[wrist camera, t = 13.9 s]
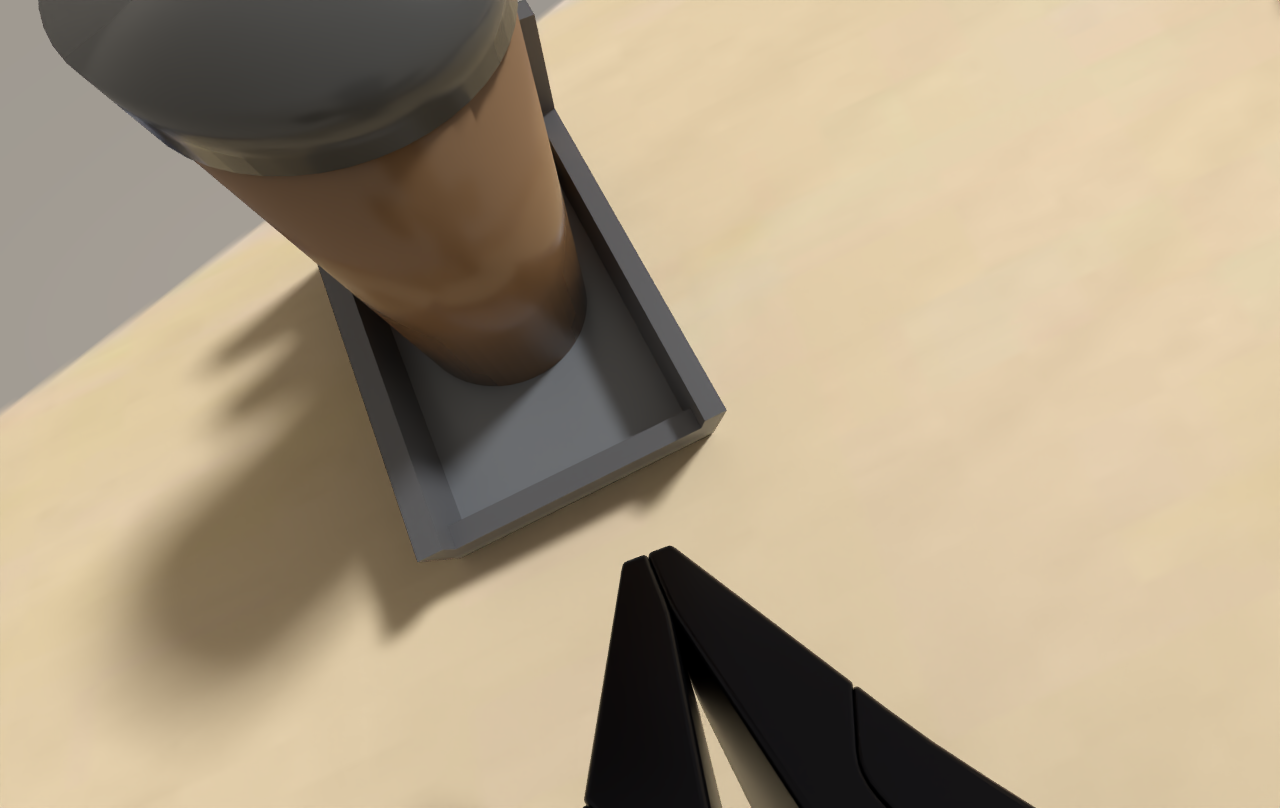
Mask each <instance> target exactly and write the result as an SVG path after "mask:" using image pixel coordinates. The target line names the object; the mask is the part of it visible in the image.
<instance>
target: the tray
mask: <svg viewBox="0 0 1280 808" xmlns="http://www.w3.org/2000/svg"><path fill="white" fill-rule="evenodd" d="M517 13H518V17H519V21H520V25H521V29H522V33H523V38H524V42H525V46H526V50H527V54H528V58H529V62H530V66H531V70H532V74H533V78H534V82H535V86H536V90H537V94H538V98H539V102H540V106H541V110H542V114H543V118H544V123H545V127H546V131H547V135H548V139H549V143H550V147H551V151H552V155H553V159H554V163H555V167H556V171H557V175H558V179H559V183H560V187H561V191H562V195H563V199H564V203H565V208H566V212H567V216H568V220H569V224H570V228H571V232H572V236H573V240H574V244H575V248H576V252H577V256H578V260H579V264H580V268H581V272H582V276H583V280H584V284H585V289H586V295H587V312H586V317H585V322H584V325H583V327H582V330H581V333H580V335H579V336H578V338H577V340H576V342H575V343H574V345H573V346H572V348H571V349H570V351H569V352H568V353H567V354H566V355H565V356H564V357H563V358H562V359H561V360H560V361H559V362H558V363H557V364H555V365H554V366H553V367H552V368H550V369H549V370H547V371H546V372H544V373H542V374H540V375H538V376H536V377H534V378H532V379H530V380H527V381H524V382H521V383H517V384H512V385H506V386H483V385H476V384H472V383H469V382H465V381H463V380H460V379H458V378H456V377H454V376H452V375H451V374H449V373H447V372H446V371H444V370H443V369H442V368H441V367H440V366H438V365H437V364H436V363H435V362H434V361H432V360H431V359H430V358H429V357H428V356H427V355H425V354H424V353H423V352H422V351H421V350H419V349H418V348H417V347H416V346H415V345H413V344H412V343H411V342H410V341H409V340H407V339H406V338H405V337H404V336H403V335H401V334H400V333H399V332H398V331H397V330H395V329H394V328H393V327H392V326H391V325H390V324H388V323H387V322H386V321H385V320H384V319H382V318H381V317H380V316H379V315H378V314H376V313H375V312H374V311H373V310H372V309H370V308H369V307H368V306H367V305H366V304H364V303H363V302H362V301H361V300H360V299H358V298H357V297H356V296H355V295H354V294H353V293H351V292H350V291H349V290H348V289H347V288H345V287H344V286H343V285H342V284H341V283H339V282H338V281H337V280H336V279H335V278H333V277H332V276H331V275H330V274H329V273H327V272H326V271H325V270H324V269H323V268H322V267H320V266H319V265H318V267H319V270H320V273H321V276H322V279H323V282H324V285H325V288H326V291H327V294H328V297H329V300H330V303H331V306H332V309H333V312H334V315H335V318H336V321H337V324H338V327H339V330H340V333H341V336H342V339H343V342H344V345H345V348H346V351H347V354H348V357H349V360H350V363H351V366H352V369H353V371H354V374H355V377H356V380H357V383H358V386H359V389H360V392H361V395H362V398H363V401H364V404H365V407H366V410H367V413H368V416H369V419H370V422H371V425H372V428H373V431H374V434H375V437H376V440H377V443H378V446H379V449H380V452H381V455H382V458H383V461H384V464H385V467H386V470H387V473H388V476H389V479H390V482H391V485H392V488H393V491H394V494H395V496H396V499H397V502H398V505H399V508H400V511H401V514H402V517H403V520H404V523H405V526H406V529H407V532H408V535H409V538H410V541H411V544H412V547H413V550H414V553H415V556H416V559H417V562H425V561H436V560H447V559H458V558H462V557H464V556H466V555H468V554H470V553H472V552H474V551H476V550H478V549H480V548H482V547H484V546H486V545H488V544H490V543H492V542H494V541H496V540H498V539H500V538H502V537H504V536H506V535H508V534H510V533H512V532H514V531H516V530H518V529H520V528H522V527H524V526H526V525H528V524H530V523H532V522H534V521H536V520H538V519H540V518H542V517H544V516H546V515H548V514H550V513H552V512H554V511H556V510H559V509H561V508H563V507H565V506H567V505H569V504H571V503H573V502H575V501H577V500H579V499H581V498H583V497H585V496H587V495H589V494H591V493H593V492H595V491H597V490H599V489H601V488H603V487H605V486H607V485H609V484H611V483H613V482H615V481H617V480H619V479H621V478H623V477H625V476H627V475H629V474H631V473H633V472H635V471H637V470H639V469H641V468H643V467H645V466H647V465H649V464H651V463H653V462H655V461H657V460H659V459H661V458H663V457H665V456H667V455H669V454H671V453H673V452H675V451H678V450H680V449H682V448H684V447H686V446H688V445H690V444H692V443H694V442H696V441H698V440H700V439H702V438H704V437H706V436H708V435H710V434H712V433H713V432H714V431H715V429H716V427H717V426H718V424H719V422H720V421H721V419H722V417H723V416H724V414H725V412H726V411H727V410H726V408H725V406H724V405H723V403H722V401H721V399H720V398H719V396H718V394H717V392H716V391H715V389H714V387H713V385H712V384H711V382H710V380H709V378H708V377H707V375H706V373H705V371H704V370H703V368H702V366H701V364H700V363H699V361H698V359H697V357H696V356H695V354H694V352H693V350H692V349H691V347H690V345H689V343H688V341H687V340H686V338H685V336H684V334H683V333H682V331H681V329H680V327H679V326H678V324H677V322H676V320H675V319H674V317H673V315H672V313H671V312H670V310H669V308H668V306H667V305H666V303H665V301H664V299H663V298H662V296H661V294H660V292H659V291H658V289H657V287H656V285H655V284H654V282H653V280H652V278H651V277H650V275H649V273H648V271H647V270H646V268H645V266H644V264H643V263H642V261H641V259H640V257H639V256H638V254H637V252H636V250H635V249H634V247H633V245H632V243H631V242H630V240H629V238H628V236H627V235H626V233H625V231H624V229H623V228H622V226H621V224H620V222H619V221H618V219H617V217H616V215H615V214H614V212H613V210H612V208H611V206H610V205H609V203H608V201H607V199H606V198H605V196H604V194H603V192H602V191H601V189H600V187H599V185H598V184H597V182H596V180H595V178H594V177H593V175H592V173H591V171H590V170H589V168H588V166H587V164H586V163H585V161H584V159H583V157H582V156H581V154H580V152H579V150H578V149H577V147H576V145H575V143H574V142H573V140H572V138H571V136H570V135H569V133H568V131H567V129H566V128H565V126H564V124H563V122H562V121H561V119H560V117H559V115H558V114H557V112H556V110H555V108H554V104H553V99H552V94H551V90H550V85H549V80H548V76H547V71H546V67H545V62H544V57H543V53H542V48H541V43H540V39H539V34H538V29H537V25H536V20H535V16H534V13H533V12H532V10H531V8H530V7H529V5H528V3H527V2H526V0H522V1H519V2H518V9H517Z"/></svg>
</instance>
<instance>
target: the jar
mask: <svg viewBox="0 0 1280 808" xmlns="http://www.w3.org/2000/svg"><path fill="white" fill-rule="evenodd" d="M517 9H518V1H517V0H39V11H40V14H41V19H42V23H43V27H44V29H45V31H46V33H47V35H48V37H49V39H50V41H51V43H52V45H53V47H54V48H55V49H56V51H57V52H58V53H59V54H60V56H61V57H62V58H63V59H64V60H65V62H66V63H67V64H68V65H70V66H71V67H72V68H73V69H74V70H76V71H77V72H78V73H79V74H80V75H82V76H83V77H84V78H85V79H86V80H88V81H89V82H90V83H91V84H93V85H94V86H95V87H96V88H98V89H99V90H100V91H101V92H102V93H103V94H105V95H106V96H107V97H108V98H109V99H111V100H112V101H113V102H114V103H116V104H117V105H118V106H119V107H121V108H122V109H123V110H124V111H125V112H126V113H128V114H129V115H130V116H131V117H133V118H134V119H135V120H136V121H138V122H139V123H140V124H141V125H142V126H144V127H145V128H146V129H147V130H148V131H150V132H151V133H152V134H153V135H154V136H156V137H157V138H158V139H159V140H161V141H162V142H163V143H164V144H166V145H167V146H168V147H170V148H171V149H173V150H175V151H176V152H178V153H180V154H182V155H184V156H185V157H187V158H189V159H191V160H194V161H195V162H196V163H197V164H199V165H200V166H201V167H202V168H203V169H205V170H206V171H207V172H208V173H209V174H211V175H212V176H213V177H214V178H215V179H216V180H218V181H219V182H220V183H221V184H222V185H224V186H225V187H226V188H227V189H229V190H230V191H231V192H232V193H233V194H234V195H236V196H237V197H238V198H239V199H240V200H242V201H243V202H244V203H245V204H246V205H248V206H249V207H250V208H251V209H252V210H253V211H255V212H256V213H257V214H258V215H260V216H261V217H262V218H263V219H264V220H265V221H267V222H268V223H269V224H270V225H271V226H273V227H274V228H275V229H276V230H277V231H279V232H280V233H281V234H282V235H283V236H285V237H286V238H287V239H288V240H289V241H290V242H292V243H293V244H294V245H295V246H296V247H298V248H299V249H300V250H301V251H302V252H304V253H305V254H306V255H307V256H308V257H310V258H311V259H312V260H313V261H314V262H316V263H317V264H318V265H319V266H320V267H322V268H323V269H324V270H325V271H326V272H327V273H329V274H330V275H331V276H332V277H333V278H335V279H336V280H337V281H338V282H339V283H341V284H342V285H343V286H344V287H345V288H347V289H348V290H349V291H350V292H351V293H353V294H354V295H355V296H356V297H357V298H358V299H360V300H361V301H362V302H363V303H364V304H366V305H367V306H368V307H369V308H370V309H372V310H373V311H374V312H375V313H376V314H378V315H379V316H380V317H381V318H382V319H384V320H385V321H386V322H387V323H388V324H390V325H391V326H392V327H393V328H394V329H395V330H397V331H398V332H399V333H400V334H401V335H403V336H404V337H405V338H406V339H407V340H409V341H410V342H411V343H412V344H413V345H415V346H416V347H417V348H418V349H419V350H421V351H422V352H423V353H424V354H425V355H427V356H428V357H429V358H430V359H431V360H432V361H434V362H435V363H436V364H437V365H438V366H440V367H441V368H442V369H443V370H444V371H446V372H447V373H449V374H451V375H452V376H454V377H456V378H458V379H460V380H463V381H465V382H469V383H472V384H476V385H483V386H506V385H512V384H517V383H521V382H524V381H527V380H530V379H532V378H534V377H536V376H538V375H540V374H542V373H544V372H546V371H547V370H549V369H550V368H552V367H553V366H554V365H555V364H557V363H558V362H559V361H560V360H561V359H562V358H563V357H564V356H565V355H566V354H567V353H568V352H569V351H570V349H571V348H572V346H573V345H574V343H575V342H576V340H577V338H578V336H579V335H580V333H581V330H582V327H583V325H584V322H585V317H586V312H587V295H586V289H585V284H584V280H583V276H582V272H581V268H580V264H579V260H578V256H577V252H576V248H575V244H574V240H573V236H572V232H571V228H570V224H569V220H568V216H567V212H566V208H565V203H564V199H563V195H562V191H561V187H560V183H559V179H558V175H557V171H556V167H555V163H554V159H553V155H552V151H551V147H550V143H549V139H548V135H547V131H546V127H545V123H544V118H543V114H542V110H541V106H540V102H539V98H538V94H537V90H536V86H535V82H534V78H533V74H532V70H531V66H530V62H529V58H528V54H527V50H526V46H525V42H524V38H523V33H522V29H521V25H520V21H519V17H518V13H517Z"/></svg>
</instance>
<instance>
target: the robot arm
mask: <svg viewBox="0 0 1280 808" xmlns="http://www.w3.org/2000/svg"><path fill="white" fill-rule="evenodd" d="M690 680H691V681H690ZM691 683H692V684H691ZM692 685H693V687H692ZM693 688H694V691H695V693H696V695H697V698H698V700H699V702H700V704H701V706H702V708H703V711H704V713H705V715H706V717H707V719H708V721H709V723H710V725H711V727H712V729H713V731H714V733H715V735H716V737H717V739H718V741H719V743H720V745H721V747H722V749H723V751H724V753H725V755H726V757H727V759H728V761H729V763H730V765H731V767H732V769H733V771H734V773H735V775H736V777H737V779H738V781H739V783H740V786H741V788H742V790H743V792H744V794H745V796H746V798H747V800H748V802H749V804H750V806H751V808H1035V807H1034V806H1032V805H1030V804H1029V803H1027V802H1026V801H1024V800H1023V799H1021V798H1019V797H1018V796H1016V795H1015V794H1013V793H1011V792H1010V791H1008V790H1007V789H1005V788H1003V787H1002V786H1000V785H999V784H997V783H995V782H994V781H992V780H991V779H989V778H988V777H986V776H985V775H983V774H982V773H980V772H978V771H977V770H975V769H974V768H972V767H971V766H969V765H968V764H966V763H965V762H963V761H962V760H960V759H959V758H957V757H956V756H954V755H952V754H951V753H949V752H948V751H946V750H945V749H943V748H942V747H940V746H939V745H937V744H936V743H934V742H933V741H931V740H930V739H929V738H927V737H926V736H924V735H923V734H922V733H920V732H919V731H917V730H916V729H915V728H913V727H912V726H911V725H909V724H908V723H906V722H905V721H904V720H902V719H901V718H899V717H898V716H897V715H895V714H894V713H892V712H891V711H890V710H888V709H887V708H886V707H884V706H883V705H882V704H880V703H879V702H878V701H876V700H875V699H874V698H873V697H871V696H870V695H869V694H867V693H866V692H865V691H863V690H862V689H861V688H859V687H854V689H853V684H852V682H851V681H850V680H848V679H847V678H846V677H844V676H843V675H842V674H841V673H839V672H838V671H837V670H835V669H834V668H833V667H831V666H830V665H829V664H827V663H826V662H825V661H823V660H822V659H821V658H819V657H818V656H817V655H815V654H814V653H813V652H812V651H810V650H809V649H808V648H806V647H805V646H804V645H802V644H801V643H800V642H798V641H797V640H796V639H794V638H793V637H792V636H790V635H789V634H788V633H787V632H785V631H784V630H783V629H781V628H780V627H779V626H777V625H776V624H775V623H773V622H772V621H771V620H769V619H768V618H767V617H765V616H764V615H763V614H762V613H760V612H759V611H758V610H756V609H755V608H754V607H752V606H751V605H750V604H748V603H747V602H746V601H744V600H743V599H742V598H740V597H739V596H738V595H736V594H735V593H734V592H733V591H731V590H730V589H729V588H727V587H726V586H725V585H723V584H722V583H721V582H719V581H718V580H717V579H715V578H714V577H713V576H711V575H710V574H709V573H708V572H706V571H705V570H704V569H702V568H701V567H700V566H698V565H697V564H696V563H694V562H693V561H692V560H690V559H689V558H688V557H686V556H685V555H684V554H683V553H681V552H680V551H679V550H677V549H676V548H674V547H673V546H667V547H664V548H661V549H659V550H656V551H653V552H651V553H650V554H649V558H648V557H647V556H645V555H643V556H640V557H637V558H634V559H632V560H629V561H627V562H625V563H624V564H623V566H622V571H621V577H620V583H619V589H618V595H617V601H616V608H615V614H614V620H613V626H612V632H611V638H610V644H609V650H608V656H607V663H606V669H605V675H604V681H603V687H602V693H601V699H600V705H599V711H598V718H597V724H596V730H595V736H594V742H593V748H592V754H591V760H590V766H589V773H588V779H587V785H586V791H585V797H584V801H585V803H586V806H584V807H583V808H722V805H721V801H720V796H719V792H718V788H717V784H716V780H715V776H714V771H713V767H712V763H711V759H710V755H709V751H708V746H707V742H706V738H705V734H704V730H703V725H702V721H701V717H700V713H699V709H698V705H697V702H696V698H695V694H694V691H693Z"/></svg>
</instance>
